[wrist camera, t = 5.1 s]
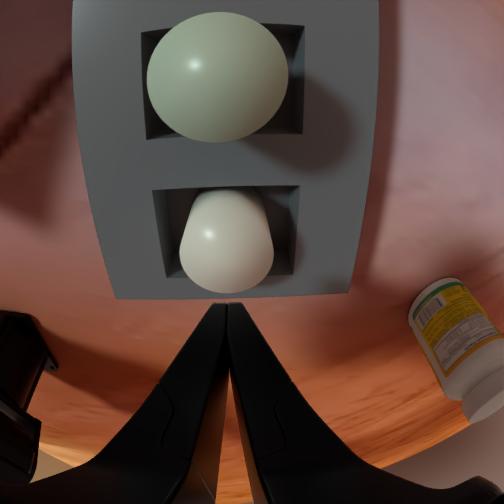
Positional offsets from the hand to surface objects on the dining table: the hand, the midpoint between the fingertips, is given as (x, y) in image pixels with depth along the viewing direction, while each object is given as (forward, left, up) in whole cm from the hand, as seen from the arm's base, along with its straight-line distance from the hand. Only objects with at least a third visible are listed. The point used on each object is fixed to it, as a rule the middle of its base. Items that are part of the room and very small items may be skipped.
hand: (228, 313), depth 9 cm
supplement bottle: (-8, -15, -8) cm, 18 cm away
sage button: (+6, 0, -5) cm, 8 cm away
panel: (+6, 0, -7) cm, 10 cm away
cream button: (0, 0, -7) cm, 7 cm away
